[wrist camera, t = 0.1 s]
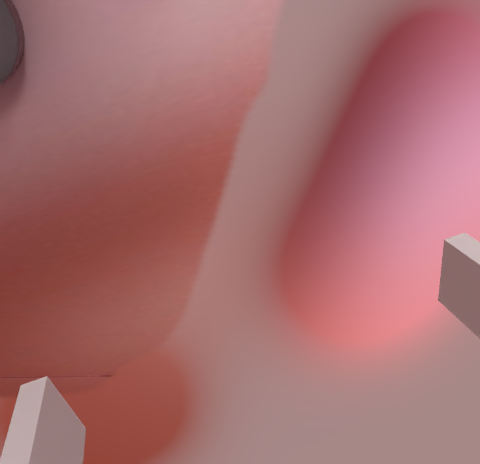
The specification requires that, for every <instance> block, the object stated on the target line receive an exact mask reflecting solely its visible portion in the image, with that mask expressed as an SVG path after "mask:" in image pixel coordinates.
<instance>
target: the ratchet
mask: <svg viewBox="0 0 480 464" xmlns="http://www.w3.org/2000/svg"><path fill="white" fill-rule="evenodd" d="M23 51H24V33H23V27H22V24H21V20H20V18H19V15H18V12H17V10H16V8H15V6H14V5H13V3H12V1H11V0H0V84H2V83H3V82H5V81H6V80H8V79H9V78H10V77H11V76H12V75H13V74H14V73H15V71H16V70H17V68H18V66H19V64H20V62H21V59H22V56H23Z"/></svg>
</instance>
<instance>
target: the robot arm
mask: <svg viewBox="0 0 480 464" xmlns="http://www.w3.org/2000/svg"><path fill="white" fill-rule="evenodd" d="M438 300H439V301H440V302H441V303H442V304H443V305H444V306H445V307H446V308H447V309H448V310H449V311H450V312H452V313H453V314H454V315H455V316H456V317H457V318H458V319H459V320H460V321H461V322H463V323H464V324H465V325H466V326H467V327H468V328H469V329H470V330H471V331H472V332H473V333H475V334H476V335H477V336H478V337H479V338H480V242H478V241H477V240H475V239H474V238H472V237H470V236H469V235H467V234H466V233H462V234H459V235H456V236H453V237H450V238H448V239H445V240H444V248H443V257H442V267H441V279H440V288H439V298H438ZM85 433H86V428H85V426H84V425H83V424H82V422H81V421H80V420H79V418H78V417H77V416H76V414H75V413H74V412H73V410H72V409H71V408H70V406H69V405H68V403H67V402H66V401H65V399H64V398H63V397H62V395H61V394H60V393H59V391H58V390H57V389H56V387H55V386H54V385H53V383H52V382H51V381H50V379H49V378H48V377H47V376H46V377H43V378H40V379H38V380H35V381H32V382H29V383H26V384H23V385H21V386H20V390H19V394H18V397H17V401H16V405H15V408H14V412H13V416H12V419H11V423H10V426H9V430H8V434H7V437H6V441H5V445H4V448H3V452H2V455H1V459H0V464H83V455H84V444H85Z"/></svg>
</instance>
